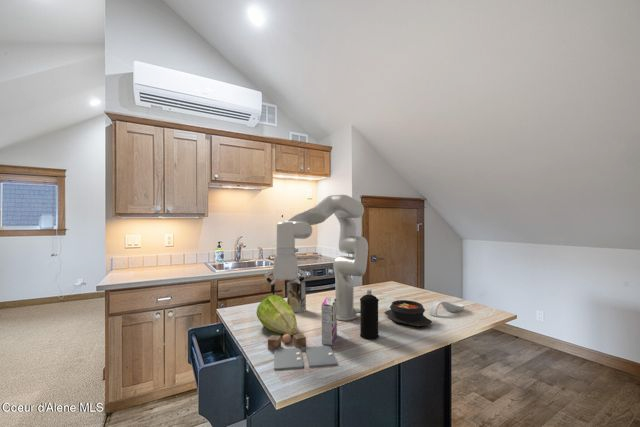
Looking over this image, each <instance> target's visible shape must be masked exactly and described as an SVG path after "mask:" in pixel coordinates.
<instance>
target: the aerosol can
mask: <svg viewBox="0 0 640 427" xmlns="http://www.w3.org/2000/svg"><path fill="white" fill-rule="evenodd" d="M372 291H373V290H372V289H366V294H364V295H363V296H361V297H360V299H359V302H360V304H359V305H360V308H359V309H360V313H359V314H360V316H359V317H360V319H359V320H360V322H359V324H360V328H359V329H360V332H359V333H360V334H359V336H360V338H361V339H365V340H369V341H373V340H377V339H379V337H380V335H379V302H380V300H379V299H378V297H376V295H374V294H372Z"/></svg>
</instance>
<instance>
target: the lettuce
mask: <svg viewBox="0 0 640 427" xmlns="http://www.w3.org/2000/svg"><path fill="white" fill-rule="evenodd" d="M255 313H256V317H257V318H258V320H259V322H260V323H261V325H262V326H263V327H265V328H267V330H269V331H271V332H274V333H277V334H280V335H285V334H289V335H290V336H293V335H296V334H295V333H296V332H297V331H298V330H297V329H298V322H297V318H296V315H295V312H293V310H292V308H291V307H290V305H289V304H288V303H287V301H286V300H285V299H284V297H282V296H280V295H277V294H274V295H273V294H271V295H268V296H267V297H266V298H265V297H264V299H262V300H261V301H260V303H259V304H258V306H257V308H256V312H255Z"/></svg>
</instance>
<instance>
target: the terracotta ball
mask: <svg viewBox="0 0 640 427" xmlns="http://www.w3.org/2000/svg"><path fill="white" fill-rule="evenodd" d="M291 340H292V335H289V334H283V336H282V342H283V343H284V344H289V343H290V342H291Z"/></svg>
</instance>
